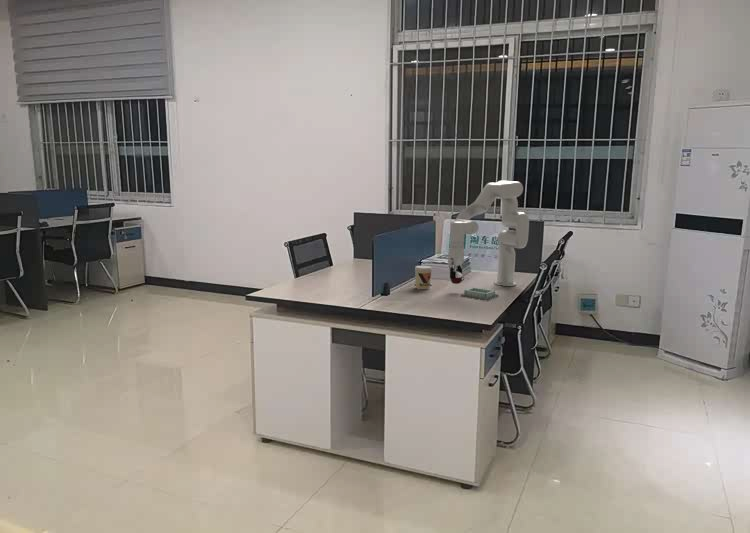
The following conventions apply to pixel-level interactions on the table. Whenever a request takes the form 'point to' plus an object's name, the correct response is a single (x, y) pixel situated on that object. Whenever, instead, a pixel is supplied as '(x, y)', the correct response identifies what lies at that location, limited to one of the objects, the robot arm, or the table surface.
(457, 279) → the cocoa
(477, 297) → the holder board
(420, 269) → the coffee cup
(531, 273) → the table surface
